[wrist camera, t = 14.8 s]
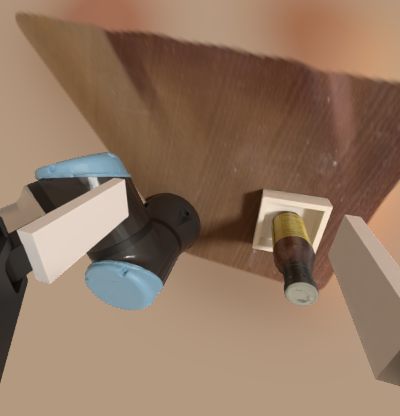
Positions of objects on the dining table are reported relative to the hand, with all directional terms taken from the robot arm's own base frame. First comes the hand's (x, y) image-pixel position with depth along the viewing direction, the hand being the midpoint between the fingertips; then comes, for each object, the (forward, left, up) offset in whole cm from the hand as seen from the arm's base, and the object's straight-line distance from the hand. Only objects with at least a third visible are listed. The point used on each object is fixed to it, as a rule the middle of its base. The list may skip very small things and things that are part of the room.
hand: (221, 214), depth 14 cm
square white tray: (+10, -16, -32) cm, 37 cm away
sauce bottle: (+10, -16, -31) cm, 36 cm away
